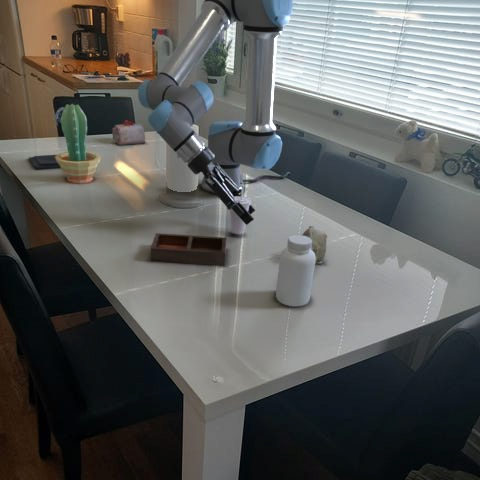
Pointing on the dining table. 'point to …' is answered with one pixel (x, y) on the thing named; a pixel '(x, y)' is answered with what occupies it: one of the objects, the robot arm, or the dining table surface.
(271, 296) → the dining table surface
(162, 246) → the tray
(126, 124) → the food item
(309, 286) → the pill bottle
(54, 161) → the wallet
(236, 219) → the smoothie
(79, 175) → the potted cactus
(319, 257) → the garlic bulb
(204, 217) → the dining table surface
